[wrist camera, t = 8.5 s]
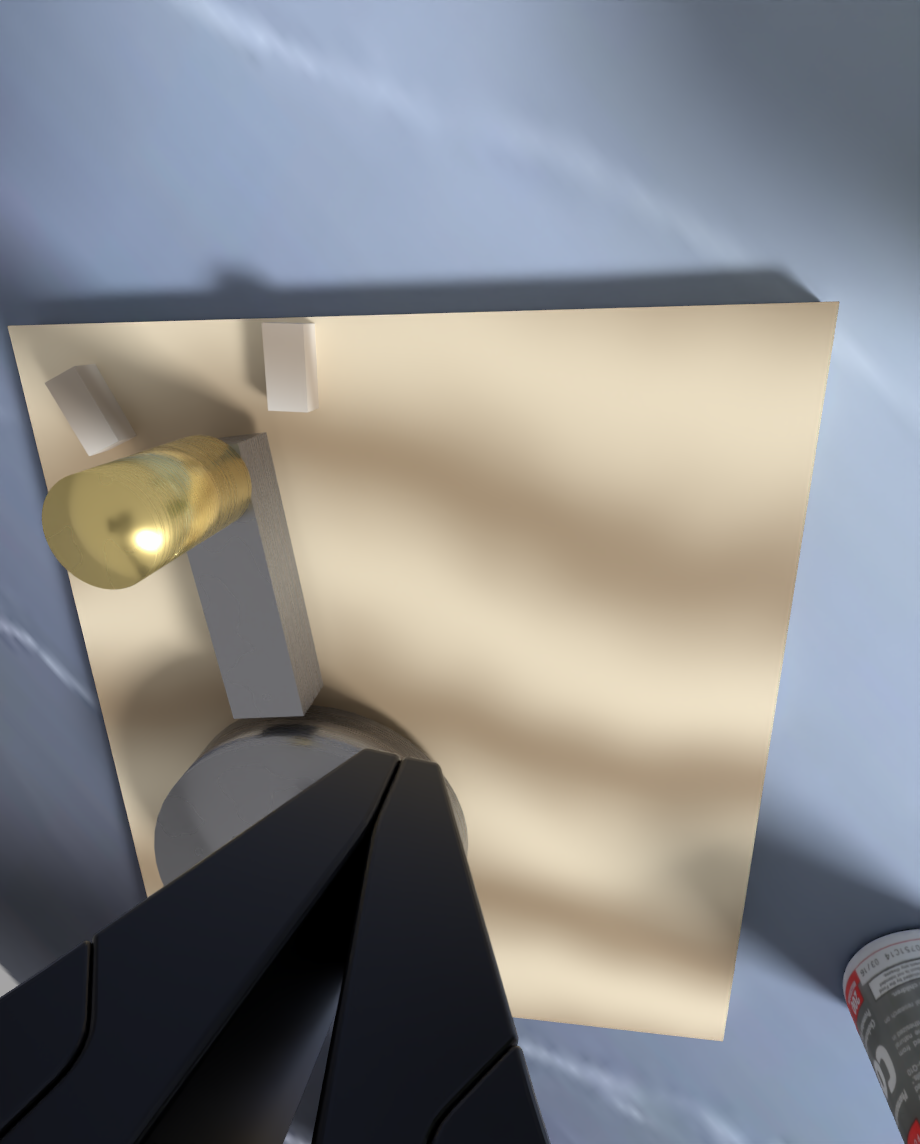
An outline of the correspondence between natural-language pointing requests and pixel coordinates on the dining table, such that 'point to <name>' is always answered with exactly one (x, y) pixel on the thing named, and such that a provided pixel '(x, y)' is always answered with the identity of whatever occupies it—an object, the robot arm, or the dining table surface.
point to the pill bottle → (890, 1020)
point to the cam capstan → (221, 625)
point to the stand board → (497, 594)
